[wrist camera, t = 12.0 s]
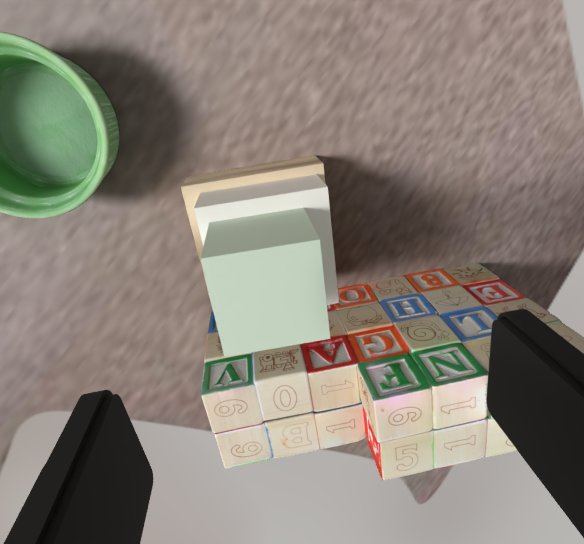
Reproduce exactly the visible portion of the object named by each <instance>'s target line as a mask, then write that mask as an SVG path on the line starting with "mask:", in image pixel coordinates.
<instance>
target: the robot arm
mask: <svg viewBox="0 0 584 544" xmlns="http://www.w3.org/2000/svg"><path fill="white" fill-rule="evenodd" d="M486 403H487V408H488V410H489V412H490V414H491V416H492V417H493V419H494V420H495V421H496V423H497V424H498V425H499V427H500V428H501V429H502V430H503V432H504V433H505V434H506V436H507V437H508V438H509V440H510V441H511V442H512V444H513V445H514V446H515V448H516V449H517V450H518V452H519V453H520V454H521V456H522V457H523V458H524V460H525V461H526V462H527V463H528V465H529V466H530V468H531V469H532V470H533V471H534V473H535V474H536V475H537V477H538V478H539V479H540V481H541V482H542V483H543V485H544V486H545V487H546V488H547V490H548V491H549V493H550V494H551V495H552V496H553V498H554V499H555V501H556V502H557V503H558V505H559V506H560V507H561V508H562V510H563V511H564V512H565V514H566V515H567V516H568V517H569V519H570V520H571V522H572V523H573V524H574V526H575V527H576V528H577V530H578V531H579V532H580V533H581V535H582V536H583V537H584V354H583V353H582V352H581V351H579V350H578V349H577V348H576V347H574V346H573V345H572V344H571V343H569V342H568V341H567V340H566V339H564V338H563V337H562V336H560V335H559V334H558V333H557V332H555V331H554V330H553V329H552V328H550V327H549V326H548V325H546V324H545V323H544V322H543V321H541V320H540V319H539V318H538V317H536V316H535V315H534V314H532V313H531V312H530V311H528V310H527V309H518V310H513V311H508V312H503V313H500V314H499V316H498V318H497V320H494V321H493V323H492V331H491V344H490V357H489V370H488V384H487V397H486ZM152 486H153V473H152V469H151V466H150V464H149V462H148V459H147V457H146V455H145V453H144V450H143V448H142V446H141V443H140V441H139V439H138V437H137V434H136V432H135V430H134V427H133V425H132V423H131V421H130V418H129V416H128V414H127V411H126V409H125V407H124V405H123V402H122V400H121V398H120V396H119V395H118V394H114V395H113V394H112V393H111V392H110V391H109V390H103V391H98V392H93V393H88V394H84V395H82V396H81V397H80V399H79V400H78V402H77V404H76V406H75V408H74V410H73V412H72V414H71V416H70V418H69V420H68V422H67V424H66V426H65V428H64V430H63V432H62V434H61V435H60V437H59V439H58V441H57V443H56V445H55V447H54V449H53V451H52V453H51V455H50V457H49V459H48V461H47V463H46V464H45V466H44V467H43V469H42V470H41V472H40V475H39V476H38V478H37V480H36V482H35V484H34V486H33V488H32V490H31V492H30V494H29V496H28V498H27V500H26V502H25V504H24V506H23V507H22V509H21V511H20V513H19V515H18V517H17V519H16V521H15V523H14V525H13V527H12V529H11V531H10V533H9V535H8V536H7V538H6V540H5V542H4V544H140V541H141V536H142V531H143V527H144V522H145V518H146V513H147V509H148V504H149V500H150V495H151V491H152Z"/></svg>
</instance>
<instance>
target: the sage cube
mask: <svg viewBox="0 0 584 544" xmlns="http://www.w3.org/2000/svg"><path fill="white" fill-rule="evenodd" d="M200 259H201V263H202V267H203V271H204V275H205V280H206V284H207V288H208V292H209V296H210V300H211V304H212V308H213V312H214V316H215V321H216V325H217V329H218V333H219V337H220V341H221V345H222V349H223V353H224V357H228V356H234V355H240V354H246V353H251V352H257V351H263V350H269V349H274V348H280V347H286V346H292V345H297V344H303V343H309V342H315V341H320V340H326V339H330V331H329V321H328V312H327V302H326V293H325V283H324V274H323V264H322V255H321V245H320V239H319V237H318V235H317V233H316V231H315V229H314V227H313V225H312V223H311V221H310V219H309V217H308V216H307V214H306V212H305V210H304V208H297V209H291V210H285V211H278V212H272V213H266V214H259V215H253V216H246V217H240V218H234V219H227V220H221V221H215V222H209V225H208V229H207V234H206V238H205V242H204V246H203V250H202V254H201V258H200Z"/></svg>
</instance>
